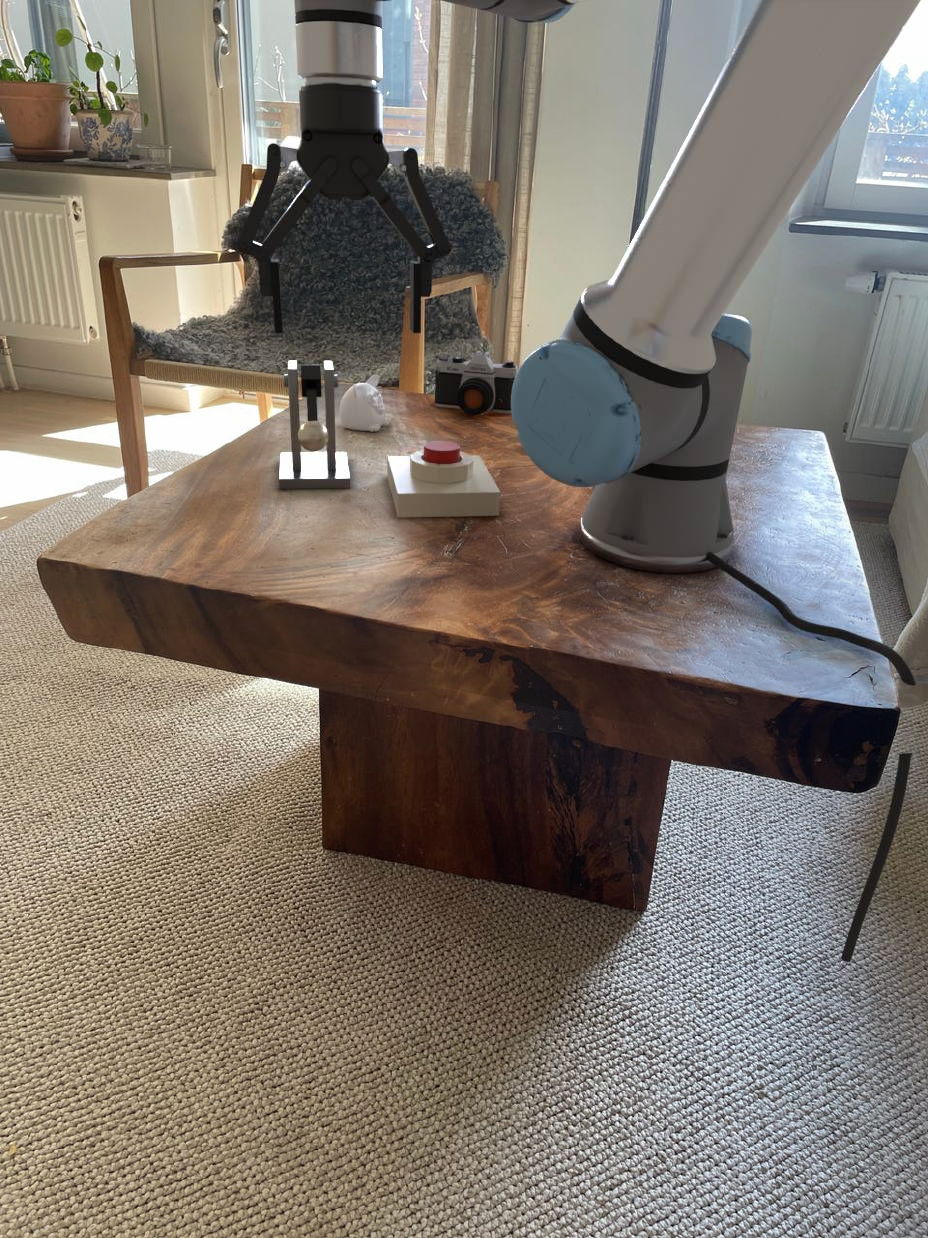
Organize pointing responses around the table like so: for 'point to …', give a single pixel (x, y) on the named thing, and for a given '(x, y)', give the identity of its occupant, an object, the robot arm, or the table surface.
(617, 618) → the table surface
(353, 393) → the figurine
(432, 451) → the stop button
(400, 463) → the control block
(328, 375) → the grey metal frame
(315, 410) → the lever
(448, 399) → the camera
